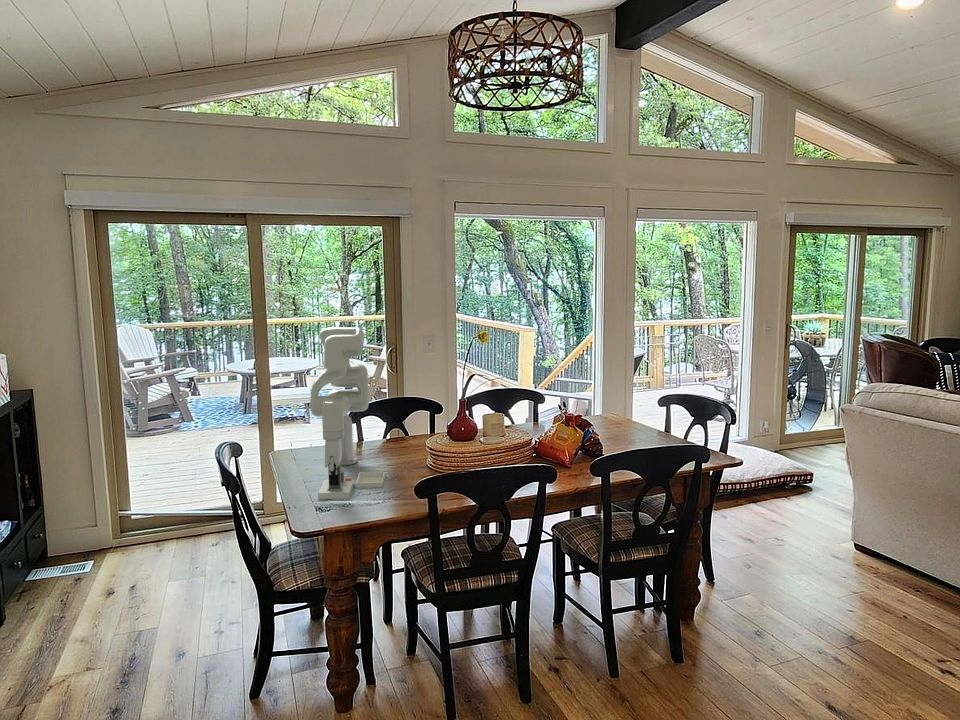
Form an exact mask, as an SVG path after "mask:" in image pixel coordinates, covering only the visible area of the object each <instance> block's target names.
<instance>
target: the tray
mask: <svg viewBox="0 0 960 720" xmlns="http://www.w3.org/2000/svg"><path fill="white" fill-rule="evenodd" d="M356 477H357V478H356V480H355V482H354V486H355V489H357V488H358V489H359V488H365V489H366V488H383V486H384V483H385V478H386V471H359V472H358V475H357V476H356Z"/></svg>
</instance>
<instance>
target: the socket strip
mask: <svg viewBox="0 0 960 720" xmlns="http://www.w3.org/2000/svg"><path fill="white" fill-rule="evenodd" d="M354 486H355V478H353V477H345V470H344V469H341V488H340V489H329V478H327V479H324V480H323V483H322V484H321V487H320V489H319V490H318V493H317V498H318V500H332V499H333V500H335V499H336V500H337V499H338V500H341V499H342V500H344V499H345V500H346V499H350V497H351V495H352V492H353V489H354ZM346 501H348V500H346Z"/></svg>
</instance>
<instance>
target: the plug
mask: <svg viewBox="0 0 960 720" xmlns="http://www.w3.org/2000/svg"><path fill="white" fill-rule="evenodd" d="M334 466H336V465H334ZM327 468H328V470H327V471H328V472H329V465H328V467H327ZM334 469H335V470H336V468H334ZM341 470H342V466H341V462H340V464H339V466H338V476H339V485H330V482H329V489H340V488H341Z"/></svg>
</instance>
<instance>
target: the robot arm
mask: <svg viewBox="0 0 960 720" xmlns="http://www.w3.org/2000/svg"><path fill="white" fill-rule="evenodd" d="M319 339H320V342H321V344H322V346H323V347H324V349H323V351H324V352H323V353H324V354H323V355H324V356H323V371H322V372H321V373H320V374H319V375H318V376H317V377H316V378H315V380H314V382H313V384H312V385H311V389H310V401H309V402H310V404H309V407H310V408H309V409H310V413H311V414H312V415H313V416H315V417H321V418H322V420H321V423H322V424H321V425H322V439H323V440H324V467H325V468H328V465H329V471H328V479H329V482H330V485H339V476H338V466H339V464H340V462H341V467H345V466H346V467H347V466H351V465H354V464H355V463H357V461H358V457H356V456H354V441H353V440H354V438H353V435H354V434H353V421H352V418H351V417H350V416H349V414H348V413H351V412H354V413H355V412H357V413H358V412H365V411H367V410H368V409H369V404H370V400H369V399H370V396H369V395H370V394H369V392H370V391H369V373H368V369H367V367H366V366H365V365H363V364H359V363H358V364H357V363H356V364H351V363H350V357H359V356H361V355H362V354H363V351H364V343H365V333H364V331H363V329H362V328H361V327H354V326H353V327H348V326H347V327H342V326H341V327H338V326H336V327H333V326H332V327H325V328H322V329H321V330H320V332H319ZM329 384H330V385H331V386H332V387H334V388H339V389H332V390H330V391H329V392H328V393H327V395H321V396H319V394H320V391H321V390H322V389H323V388H324V387H326V386H327V385H329ZM341 388H344V389H341ZM345 388H346V389H345ZM347 388H349V389H347ZM350 388H351V389H350ZM354 388H355V389H354ZM334 465H336V466H334ZM334 468H336V470H335V469H334Z"/></svg>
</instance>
